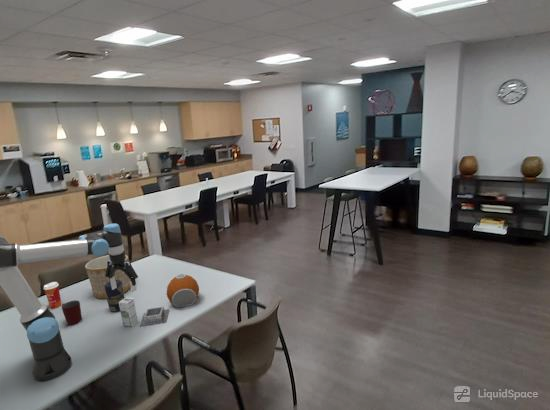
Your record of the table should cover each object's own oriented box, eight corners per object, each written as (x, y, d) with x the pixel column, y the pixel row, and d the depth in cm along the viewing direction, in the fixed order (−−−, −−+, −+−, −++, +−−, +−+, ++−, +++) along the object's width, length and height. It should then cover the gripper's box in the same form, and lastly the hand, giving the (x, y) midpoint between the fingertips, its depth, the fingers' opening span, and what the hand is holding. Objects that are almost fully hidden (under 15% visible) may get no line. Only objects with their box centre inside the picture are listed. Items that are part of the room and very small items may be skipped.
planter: (103, 304, 217) (97, 272, 212) (84, 295, 233) (77, 264, 228) (141, 287, 237) (135, 257, 232) (121, 279, 252) (115, 251, 248)
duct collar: (166, 322, 190) (164, 316, 189) (139, 327, 188) (138, 320, 187) (169, 310, 203) (168, 303, 203) (144, 313, 201) (143, 307, 201)
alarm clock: (198, 292, 223) (195, 267, 219) (202, 304, 206) (198, 277, 202) (168, 299, 217) (163, 273, 213) (168, 312, 201) (164, 284, 197)
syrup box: (138, 321, 194) (134, 297, 191) (131, 327, 188) (126, 303, 185) (130, 320, 196) (125, 296, 192) (122, 326, 190) (117, 302, 187)
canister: (120, 312, 205) (114, 284, 201) (105, 312, 207) (100, 284, 203) (129, 304, 214) (124, 277, 210) (116, 304, 216) (110, 277, 212)
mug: (58, 323, 198) (54, 306, 196) (72, 315, 206) (68, 298, 204) (72, 327, 194) (68, 309, 191) (86, 318, 201) (82, 301, 199)
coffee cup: (45, 308, 218) (40, 286, 215) (58, 302, 225) (53, 280, 222) (53, 310, 214) (47, 288, 211) (66, 304, 221) (61, 282, 218)
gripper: (140, 251, 182) (147, 288, 187) (104, 249, 191) (111, 284, 195) (130, 256, 175) (137, 295, 180) (93, 254, 184) (101, 290, 189)
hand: (124, 289), depth 188 cm, fingers open, 13 cm apart
